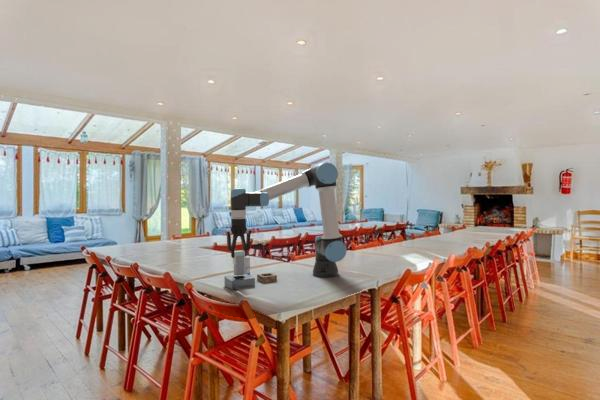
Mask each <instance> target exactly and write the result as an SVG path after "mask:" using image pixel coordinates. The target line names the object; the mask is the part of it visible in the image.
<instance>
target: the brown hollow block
mask: <svg viewBox="0 0 600 400" xmlns="http://www.w3.org/2000/svg"><path fill="white" fill-rule="evenodd" d="M256 280H257V281H259V282H261V284H266V283H272V282H277V281H278V275H277V274H274V273H272V272H265V273H257V274H256Z"/></svg>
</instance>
